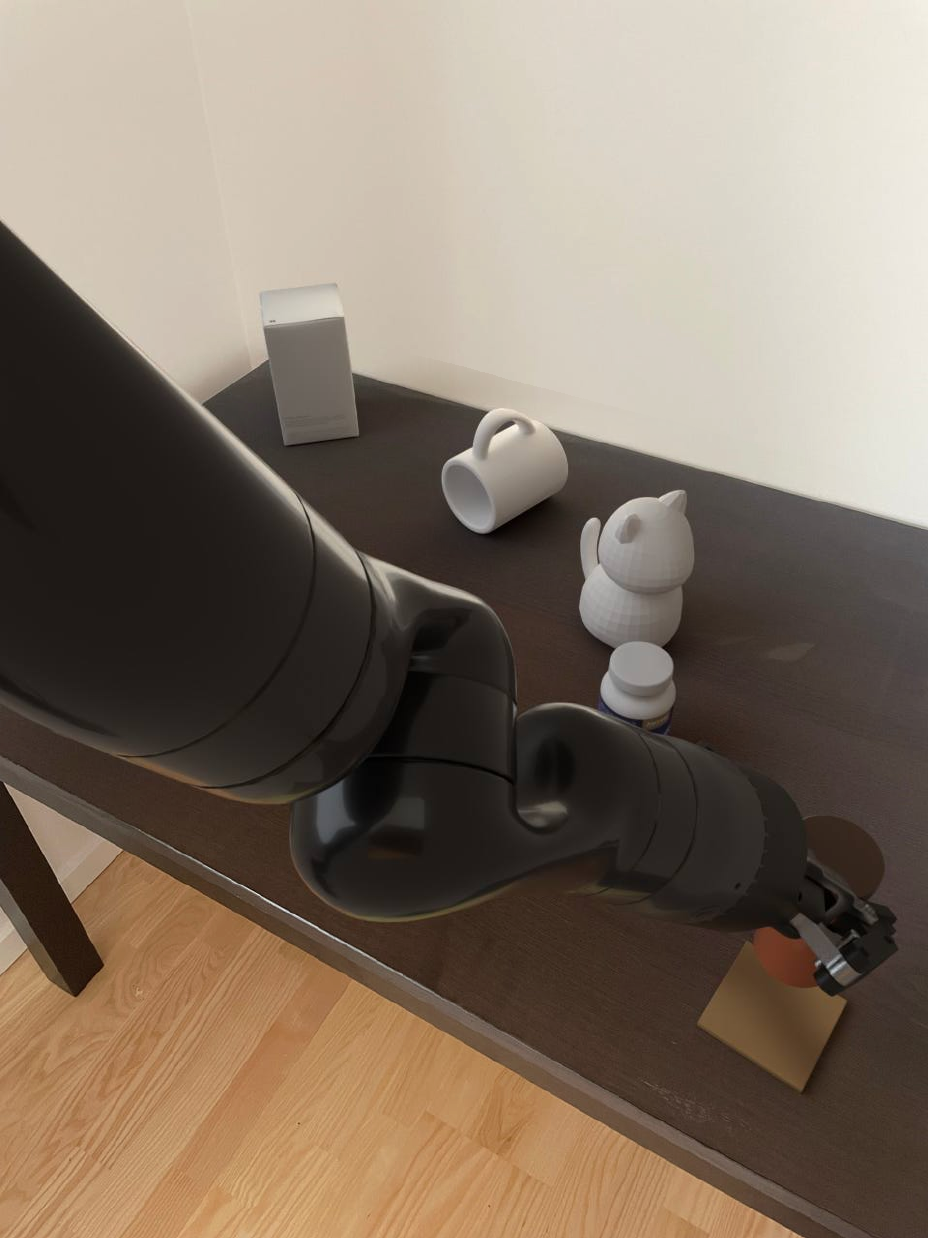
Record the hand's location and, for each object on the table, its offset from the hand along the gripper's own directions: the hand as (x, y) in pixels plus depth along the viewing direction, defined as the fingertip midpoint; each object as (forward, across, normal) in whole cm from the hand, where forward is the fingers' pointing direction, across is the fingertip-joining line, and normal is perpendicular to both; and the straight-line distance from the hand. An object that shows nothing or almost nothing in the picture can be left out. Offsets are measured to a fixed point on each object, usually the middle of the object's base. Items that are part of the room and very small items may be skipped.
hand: (844, 882), depth 53 cm
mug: (+13, +56, +7) cm, 58 cm away
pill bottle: (+11, +22, +10) cm, 27 cm away
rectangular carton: (+4, +81, +16) cm, 82 cm away
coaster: (+9, 0, +11) cm, 14 cm away
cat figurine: (+15, +35, +5) cm, 39 cm away
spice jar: (+3, 0, +6) cm, 6 cm away
